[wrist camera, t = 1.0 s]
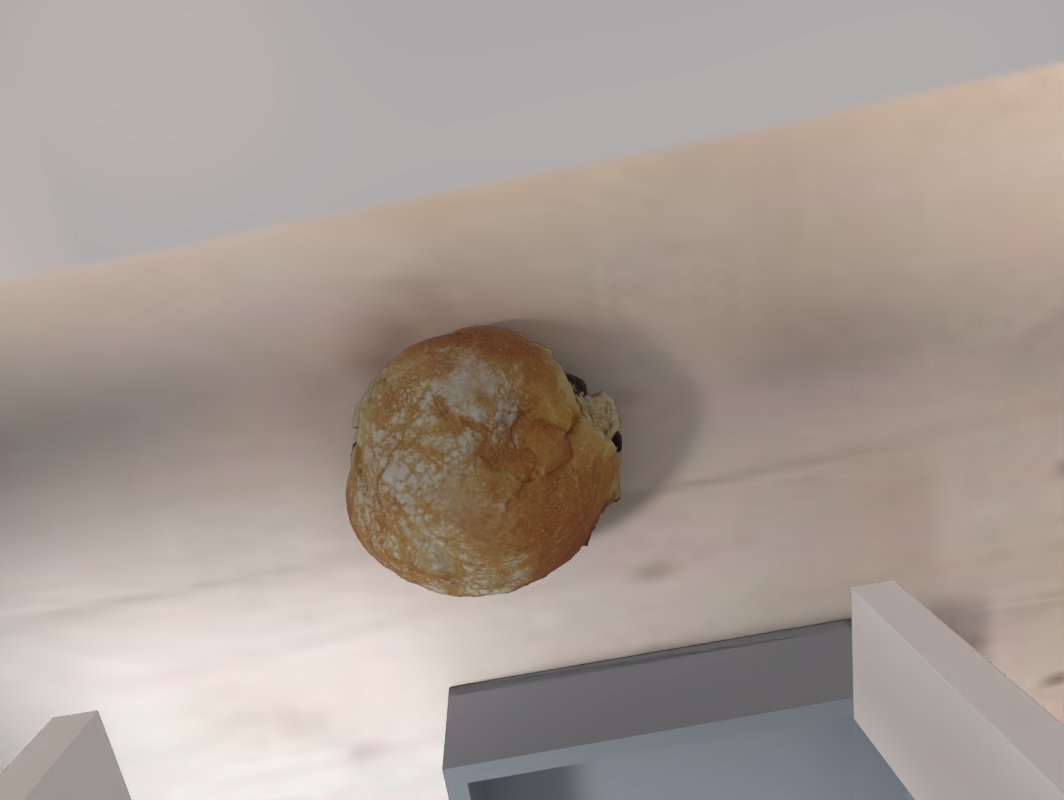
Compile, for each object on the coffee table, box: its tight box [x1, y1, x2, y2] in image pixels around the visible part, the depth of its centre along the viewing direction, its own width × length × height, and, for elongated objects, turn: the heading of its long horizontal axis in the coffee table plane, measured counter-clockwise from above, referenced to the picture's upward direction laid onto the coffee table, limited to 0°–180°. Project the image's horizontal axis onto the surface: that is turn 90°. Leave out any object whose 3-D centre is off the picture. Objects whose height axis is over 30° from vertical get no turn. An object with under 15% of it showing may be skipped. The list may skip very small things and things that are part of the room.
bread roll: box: [346, 326, 622, 597], centre depth 24 cm, size 10×10×8 cm
